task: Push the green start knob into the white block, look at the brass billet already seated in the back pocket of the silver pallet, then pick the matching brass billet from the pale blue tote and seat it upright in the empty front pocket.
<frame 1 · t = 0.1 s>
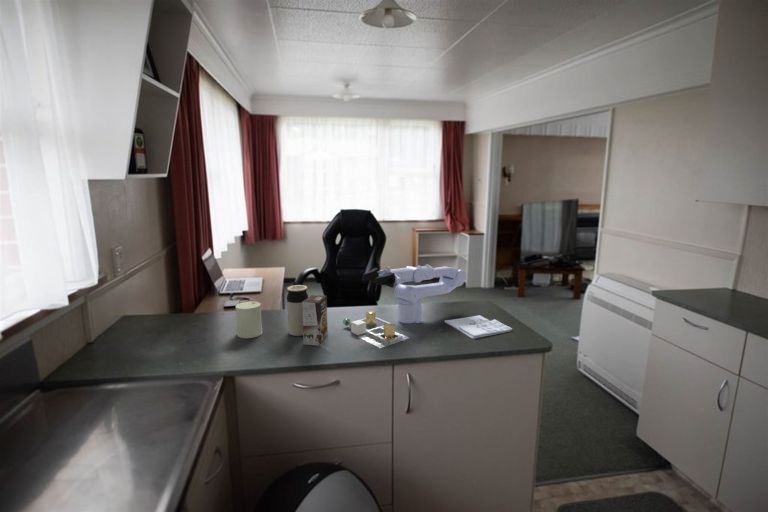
hand: (369, 279, 153), 22 cm above the countertop, fingers open, 7 cm apart
tote: (370, 326, 165), on the countertop
billet: (370, 325, 165), resting on tote
white block: (358, 335, 157), on the countertop
billet loaded: (389, 339, 149), point 1 cm above the countertop, touching pallet
white printed book: (477, 328, 166), on the countertop
start knob: (351, 324, 160), point 3 cm above the countertop, slide at 0.0 cm
pallet: (383, 340, 152), on the countertop
can: (250, 334, 158), on the countertop
travel mug: (299, 333, 160), on the countertop
coffee box: (316, 341, 152), on the countertop
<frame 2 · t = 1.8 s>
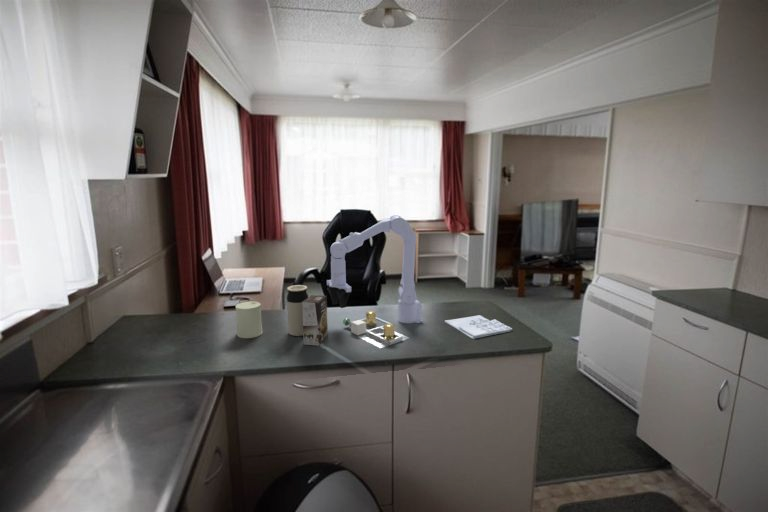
hand: (339, 305, 165), 8 cm above the countertop, fingers open, 5 cm apart
nothing on the countertop moved.
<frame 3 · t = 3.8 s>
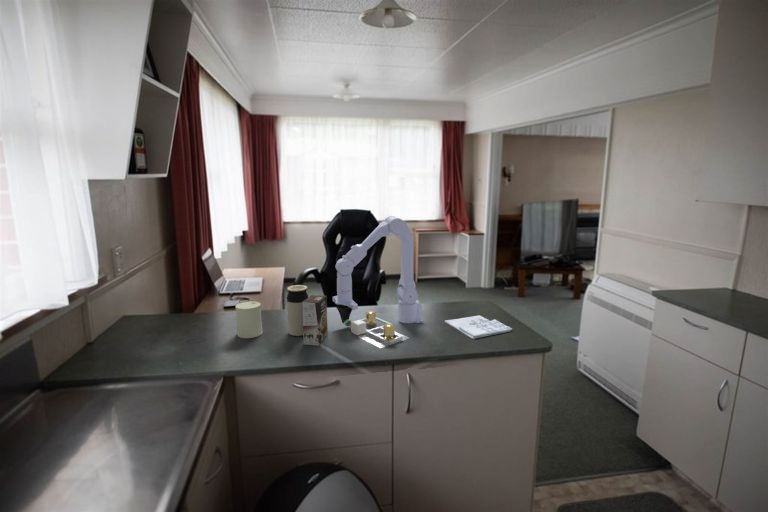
hand: (345, 322, 163), 2 cm above the countertop, fingers closed
start knob: (352, 324, 159), point 3 cm above the countertop, slide at 0.7 cm, touching gripper
everything else where it was.
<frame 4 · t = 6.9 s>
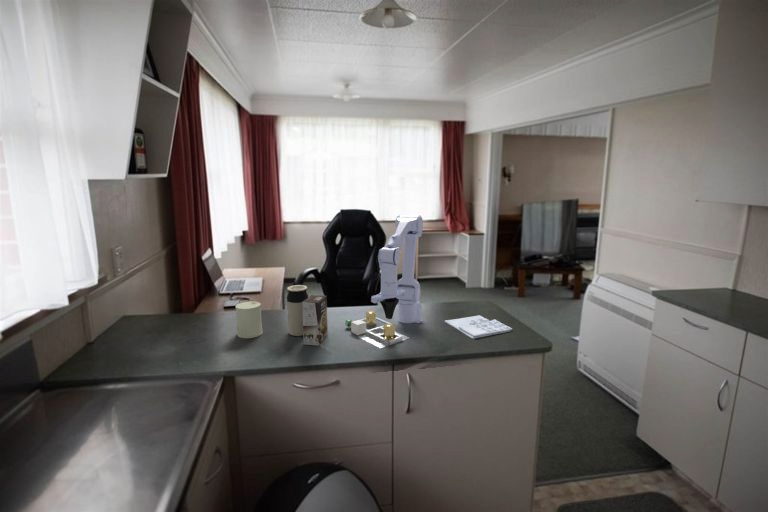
hand: (389, 318, 148), 9 cm above the countertop, fingers closed
start knob: (353, 325, 159), point 3 cm above the countertop, slide at 1.5 cm
everything else where it was.
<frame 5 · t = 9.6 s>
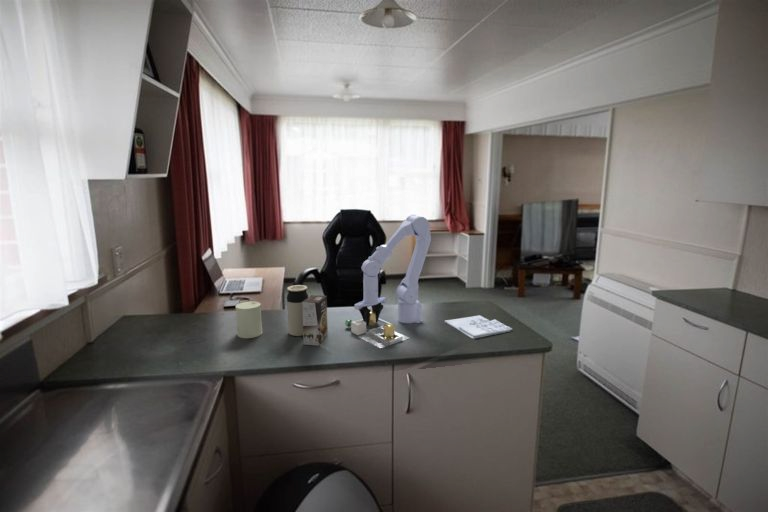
hand: (370, 323, 165), 2 cm above the countertop, fingers closed on billet, 4 cm apart
billet: (370, 325, 165), resting on tote, touching gripper
everything else where it was.
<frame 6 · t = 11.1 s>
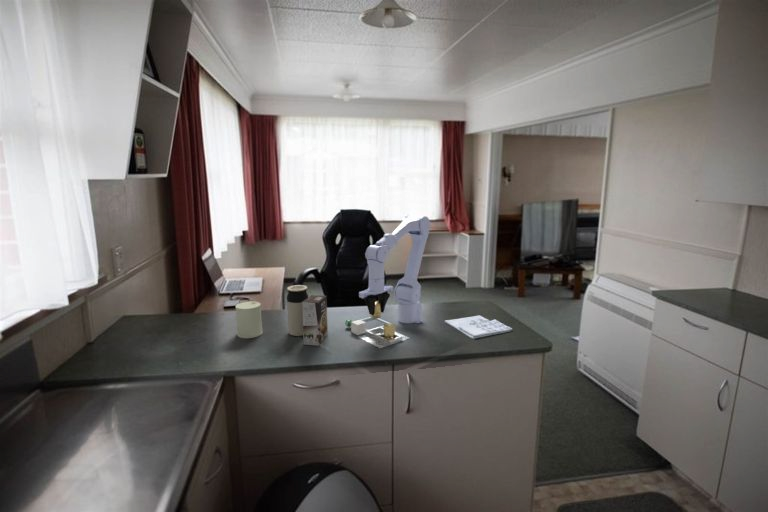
hand: (376, 313, 155), 9 cm above the countertop, fingers closed on billet, 4 cm apart
billet: (375, 316, 155), point 7 cm above the countertop, touching gripper
everything else where it was.
when the fingers open (3 cm above the countertop, at t = 12.7 s): billet stays where it is, resting on pallet.
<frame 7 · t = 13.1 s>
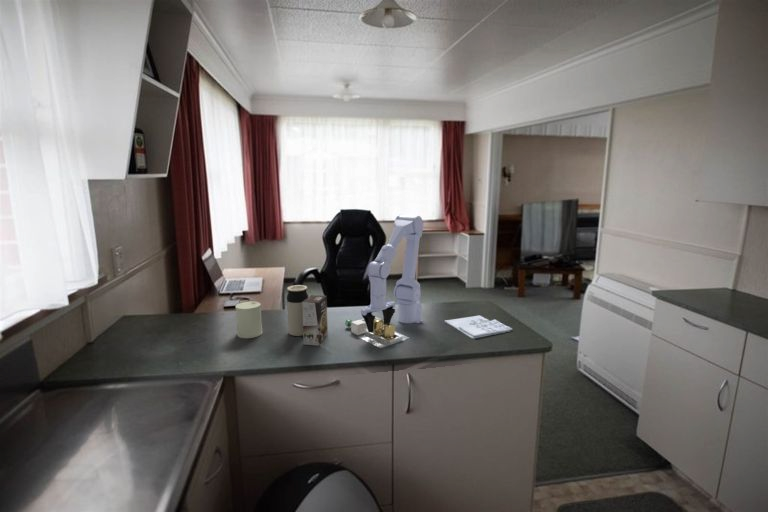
hand: (378, 329, 153), 3 cm above the countertop, fingers open, 7 cm apart
billet: (377, 334, 154), point 1 cm above the countertop, touching pallet
everything else where it was.
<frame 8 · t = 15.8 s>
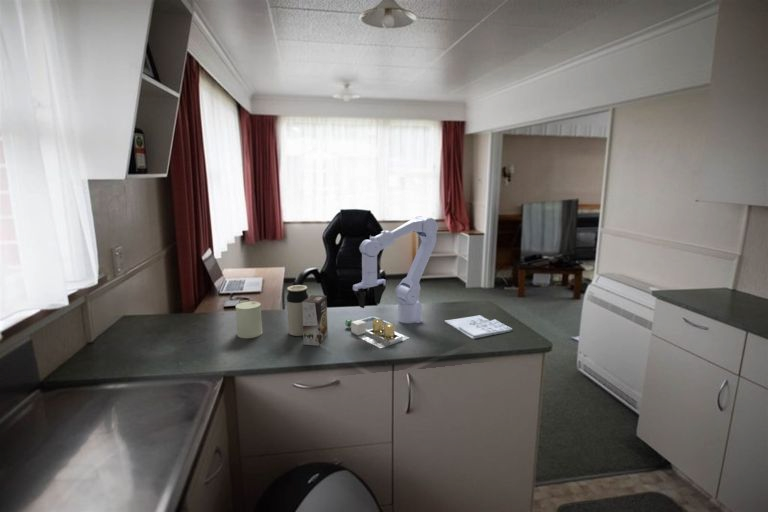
hand: (369, 305, 161), 10 cm above the countertop, fingers open, 7 cm apart
nothing on the countertop moved.
at the end: billet 0.4 cm from the target spot on the pallet, point 1.2 cm above the pallet's base; billet tilted 0°; start knob slide at 1.5 cm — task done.
